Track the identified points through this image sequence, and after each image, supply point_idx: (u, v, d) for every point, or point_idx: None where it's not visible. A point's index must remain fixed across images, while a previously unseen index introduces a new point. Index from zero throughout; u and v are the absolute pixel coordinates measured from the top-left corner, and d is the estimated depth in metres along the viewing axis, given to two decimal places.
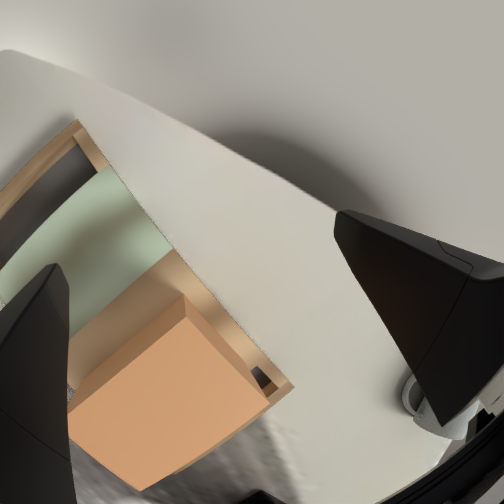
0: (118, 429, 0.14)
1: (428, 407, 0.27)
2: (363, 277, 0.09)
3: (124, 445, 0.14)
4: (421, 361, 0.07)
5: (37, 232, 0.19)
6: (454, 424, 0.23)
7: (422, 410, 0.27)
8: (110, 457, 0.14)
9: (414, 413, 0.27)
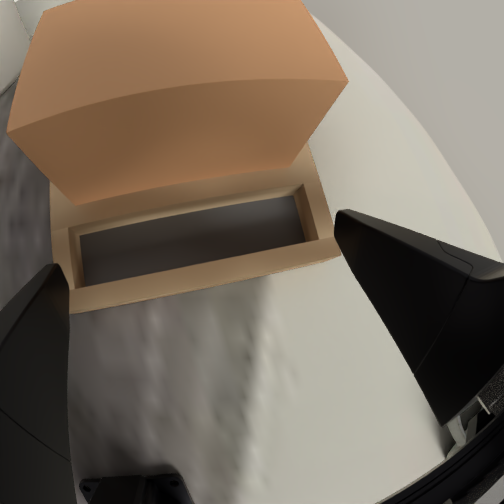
0: (109, 18, 0.08)
1: None
2: (363, 277, 0.09)
3: (89, 37, 0.07)
4: (421, 362, 0.07)
5: None
6: None
7: None
8: (47, 53, 0.07)
9: (462, 432, 0.14)
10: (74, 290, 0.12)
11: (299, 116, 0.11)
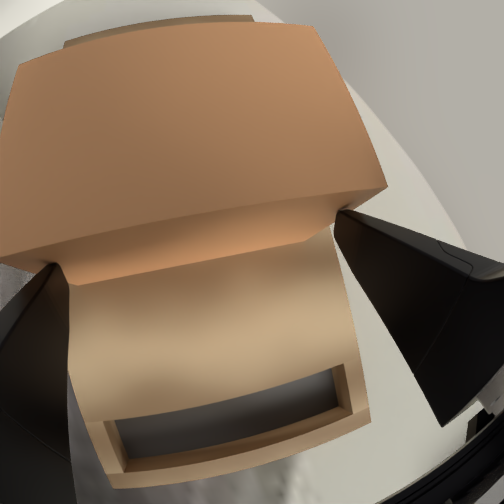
0: (96, 86, 0.07)
1: None
2: (363, 277, 0.09)
3: (72, 118, 0.07)
4: (421, 361, 0.07)
5: None
6: None
7: None
8: (23, 139, 0.06)
9: None
10: (123, 473, 0.11)
11: (325, 214, 0.10)
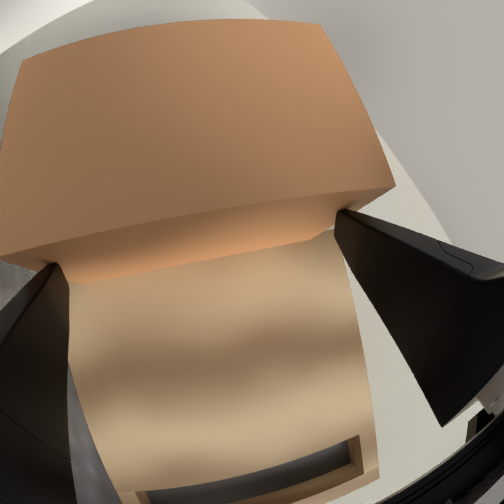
0: (102, 82, 0.07)
1: None
2: (363, 277, 0.09)
3: (78, 114, 0.07)
4: (421, 362, 0.07)
5: None
6: None
7: None
8: (27, 135, 0.06)
9: None
10: None
11: (332, 213, 0.10)
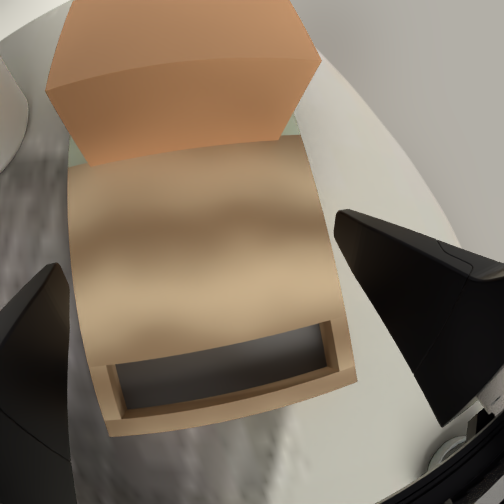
0: (130, 9, 0.09)
1: None
2: (363, 277, 0.09)
3: (114, 23, 0.09)
4: (421, 362, 0.07)
5: None
6: None
7: None
8: (79, 34, 0.09)
9: None
10: (121, 420, 0.13)
11: (282, 90, 0.12)
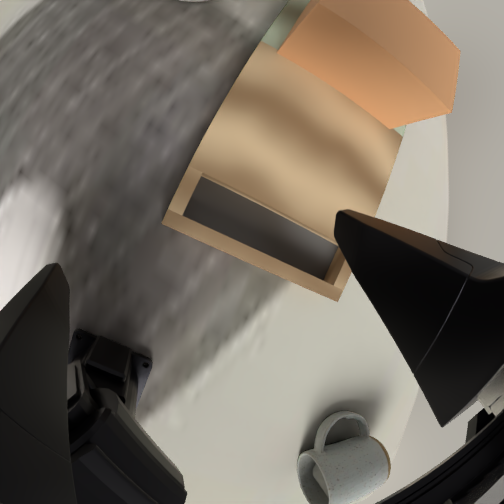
0: None
1: (335, 451, 0.24)
2: (363, 277, 0.09)
3: (370, 0, 0.13)
4: (421, 361, 0.07)
5: None
6: (346, 486, 0.21)
7: (326, 449, 0.25)
8: None
9: (323, 442, 0.24)
10: (181, 216, 0.19)
11: (419, 108, 0.17)
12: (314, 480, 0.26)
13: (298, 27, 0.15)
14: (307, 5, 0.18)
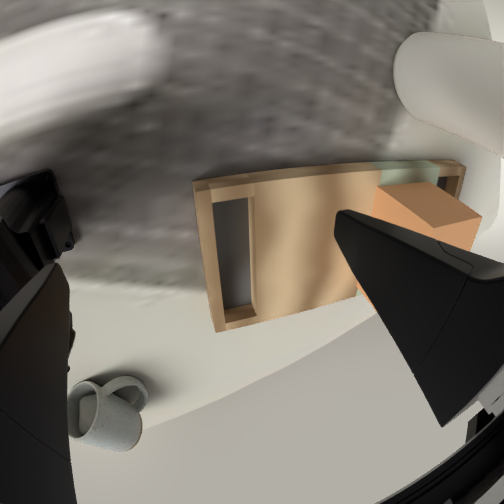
0: None
1: (114, 403, 0.29)
2: (363, 277, 0.09)
3: None
4: (421, 361, 0.07)
5: None
6: (103, 434, 0.25)
7: (108, 396, 0.29)
8: (455, 233, 0.20)
9: (113, 391, 0.28)
10: (211, 202, 0.20)
11: None
12: (77, 404, 0.30)
13: (406, 208, 0.21)
14: (426, 186, 0.24)
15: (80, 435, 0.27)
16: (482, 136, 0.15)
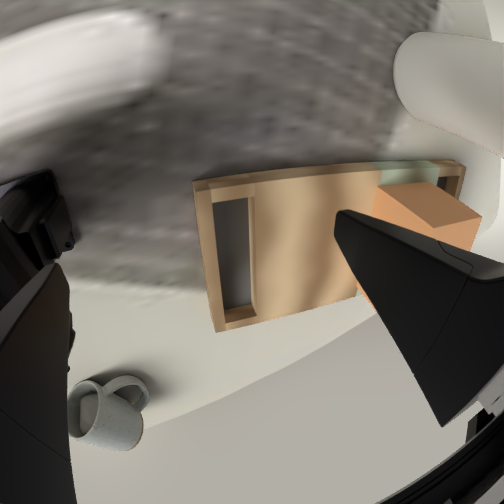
0: None
1: (115, 402, 0.28)
2: (363, 277, 0.09)
3: None
4: (421, 361, 0.07)
5: None
6: (104, 434, 0.25)
7: (109, 395, 0.29)
8: (455, 233, 0.20)
9: (114, 390, 0.28)
10: (211, 202, 0.20)
11: None
12: (78, 404, 0.30)
13: (406, 208, 0.21)
14: (426, 186, 0.24)
15: (81, 435, 0.27)
16: (482, 136, 0.15)
